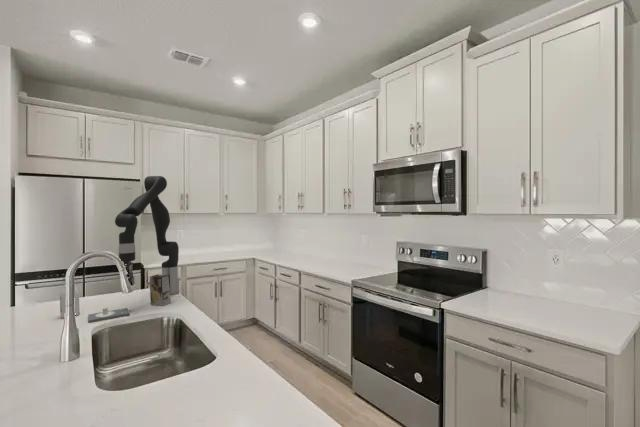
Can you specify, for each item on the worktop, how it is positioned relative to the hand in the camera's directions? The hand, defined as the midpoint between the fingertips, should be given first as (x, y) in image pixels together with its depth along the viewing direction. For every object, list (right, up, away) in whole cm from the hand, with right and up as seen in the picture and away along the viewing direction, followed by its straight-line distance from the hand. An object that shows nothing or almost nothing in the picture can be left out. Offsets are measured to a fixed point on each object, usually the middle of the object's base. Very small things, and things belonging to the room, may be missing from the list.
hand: (127, 283), depth 169 cm
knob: (0, -1, 0) cm, 1 cm away
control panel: (-5, -15, -7) cm, 17 cm away
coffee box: (+11, -15, +13) cm, 22 cm away
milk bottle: (-26, -16, -6) cm, 31 cm away
